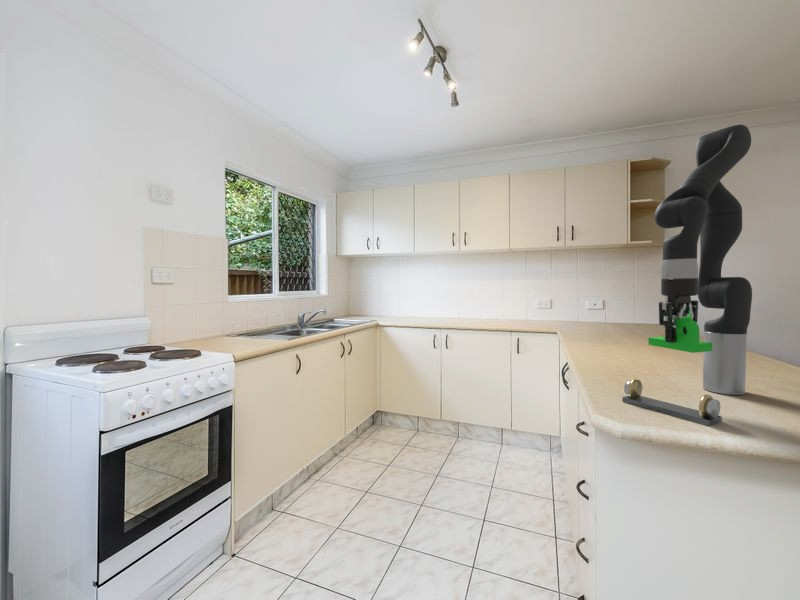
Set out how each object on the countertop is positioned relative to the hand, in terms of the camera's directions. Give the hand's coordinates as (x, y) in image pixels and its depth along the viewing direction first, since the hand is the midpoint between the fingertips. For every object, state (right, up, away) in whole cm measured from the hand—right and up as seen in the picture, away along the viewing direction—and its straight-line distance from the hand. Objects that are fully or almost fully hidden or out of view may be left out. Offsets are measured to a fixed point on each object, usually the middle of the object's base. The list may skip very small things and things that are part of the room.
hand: (678, 340), depth 93 cm
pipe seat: (-6, -17, -5) cm, 19 cm away
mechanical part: (0, -2, 0) cm, 2 cm away
